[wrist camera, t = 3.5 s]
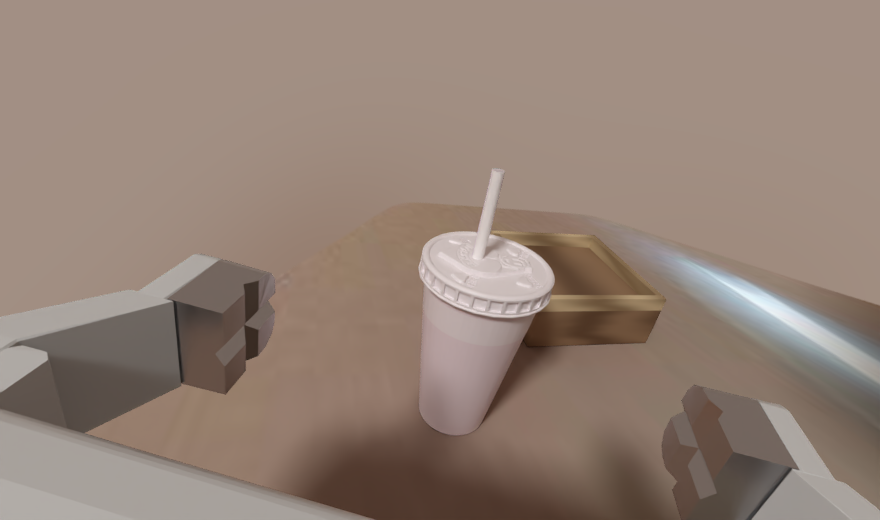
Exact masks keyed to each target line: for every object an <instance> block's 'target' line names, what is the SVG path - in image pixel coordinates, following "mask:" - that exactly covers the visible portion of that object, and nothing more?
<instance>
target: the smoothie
mask: <svg viewBox="0 0 880 520" xmlns="http://www.w3.org/2000/svg"><path fill="white" fill-rule="evenodd" d="M504 174H505V171H504V170H502V169H498V168H493V169H492V173H491V177H490V181H489V185H488V190H487V194H486V198H485V203H484V207H483V211H482V215H481V219H480V224H479V228H478V232H463V231H460V232H450V233H446V234H441V235H439V236H436V237H434V238H432V239H431V240H429V241H428V242H427V243H426V244H425V246H424V248H423V251H422V257H421V261H420V264H419V267H418V269H419V274H420V278H421V280H422V281H423V283H424V294H423V319H422V343H421V367H420V391H419V411H420V414H421V416H422V418H423V419H424V420H425V422H426V423H427V424H428V425H429V426H431V427H432V428H433V429H435V430H437V431H439V432H441V433H444V434H448V435H465V434H469V433H471V432H473V431H475V430H476V429H477V428H478V427H479V426H480V424H481V423H482V421H483V419H484V417H485V415H486V413H487V411H488V409H489V407H490V405H491V402H492V400H493V398H494V396H495V394H496V392H497V390H498V388H499V386H500V384H501V382H502V380H503V378H504V376H505V374H506V372H507V370H508V368H509V366H510V364H511V362H512V360H513V358H514V356H515V354H516V352H517V350H518V348H519V346H520V344H521V342H522V340H523V338H524V336H525V334H526V333H527V331H528V329H529V327H530V325H531V322H532V320H533V318H534V316H535V314H536V313H538V312H540V311H541V310H542V309H544V308H545V307H546V306H547V305H548V304H549V301H550V298H551V291H552V288H553V285H554V281H555V278H554V274H553V271H552V269H551V268H550V266H549V265H548V264H547V262H546V261H545V260H544V259H543V258H542V257H540V256H539V255H538V254H536V253H535V252H534V251H532V250H530V249H529V248H527V247H525V246H523V245H521V244H519V243H517V242H514V241H512V240H509V239H506V238H503V237H499V236H496V235H491V234H490V231H491V227H492V223H493V219H494V215H495V211H496V207H497V202H498V198H499V194H500V190H501V186H502V182H503V178H504Z"/></svg>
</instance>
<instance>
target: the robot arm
mask: <svg viewBox="0 0 880 520" xmlns="http://www.w3.org/2000/svg"><path fill="white" fill-rule="evenodd" d="M274 294H275V278H274V276H273V275H272V273H269V272H266V271H262V270H259V269H255V268H252V267H248V266H244V265H241V264H238V263H234V262H231V261H227V260H223V259H220V258H216V257H212V256H208V255H205V254H194V255H192V256H191V257H189V258H188V259H186V260H185V261H183V262H182V263H180V264H179V265H177V266H176V267H174V268H173V269H171V270H170V271H168V272H167V273H165V274H164V275H162V276H160V277H159V278H158V279H156V280H155V281H153V282H152V283H150V284H149V285H147V286H145V287H144V288H142V289H141V290H139V291H134V290H125V291H120V292H116V293H111V294H106V295H102V296H97V297H93V298H87V299H83V300H78V301H74V302H69V303H64V304H59V305H55V306H50V307H45V308H40V309H36V310H31V311H27V312H22V313H17V314H12V315H8V316H3V317H0V520H375V519H372V518H368V517H365V516H362V515H358V514H355V513H352V512H348V511H345V510H341V509H338V508H335V507H331V506H328V505H325V504H321V503H318V502H314V501H311V500H308V499H304V498H301V497H298V496H294V495H291V494H287V493H284V492H281V491H277V490H274V489H271V488H267V487H264V486H260V485H257V484H254V483H250V482H247V481H244V480H240V479H237V478H233V477H230V476H227V475H223V474H220V473H217V472H213V471H210V470H206V469H203V468H200V467H196V466H193V465H190V464H186V463H183V462H180V461H176V460H173V459H169V458H166V457H163V456H159V455H156V454H153V453H149V452H146V451H142V450H139V449H136V448H132V447H129V446H126V445H122V444H119V443H115V442H112V441H109V440H105V439H102V438H99V437H95V436H92V435H88V434H85V432H87V431H89V430H91V429H94V428H96V427H98V426H100V425H102V424H104V423H106V422H108V421H110V420H112V419H114V418H116V417H118V416H120V415H122V414H124V413H126V412H128V411H131V410H133V409H135V408H137V407H139V406H141V405H143V404H145V403H147V402H149V401H151V400H153V399H155V398H157V397H159V396H161V395H163V394H165V393H168V392H170V391H172V390H174V389H176V388H178V387H180V386H181V383H182V384H185V385H189V386H193V387H197V388H201V389H205V390H209V391H213V392H217V393H221V394H225V395H226V393H227V392H228V391H229V390H230V389H231V388H232V386H233V385H234V384H235V383H236V382H237V380H238V379H239V378H240V377H241V376H242V375H243V373H244V372H245V371H246V360H249V359H252V358H254V357H257V356H258V355H259V354H260V353H261V352H262V350H263V349H264V348H265V347H266V345H267V343H268V340H269V338H270V336H271V334H272V330H273V326H274V318H275V311H274V309H273V308H272V306H271V305H270V303H269V301H268V300H269V299H270V298H271V297H272V296H273V295H274ZM681 401H682V404H683V407H684V412H682V413H680V414H678V415H676V416H674V417H672V418H671V419H670V421H669V423H668V425H667V427H666V429H665V431H664V436H663V441H662V457H663V460H664V464H665V467H666V469H667V470H668V471H669V473H670V474H671V475H672V476H673V477H674V478H675V479H676V480H677V483H676V485H675V486H674V488H673V489H672V491H673V494H674V498H675V501H676V504H677V507H678V511H679V514H680V517H681V520H880V510H879V509H878V508H876V507H875V506H874V505H873V504H871V503H870V502H869V501H867V500H866V499H865V498H864V497H862V496H861V495H860V494H858V493H857V492H856V491H855V490H853V489H852V488H851V487H850V486H848V485H847V484H846V483H843V482H839V481H836V480H835V479H834V477H833V476H832V474H831V473H830V471H829V470H828V468H827V467H826V465H825V464H824V462H823V461H822V459H821V458H820V457H819V455H818V454H817V452H816V451H815V449H814V448H813V446H812V445H811V443H810V442H809V440H808V439H807V437H806V436H805V434H804V433H803V431H802V430H801V428H800V427H799V425H798V424H797V422H796V421H795V419H794V418H793V416H792V415H791V413H790V412H789V410H787V409H786V408H784V407H783V406H781V405H779V404H775V403H770V402H766V401H761V400H757V399H753V398H751V399H750V398H746V397H742V396H738V395H734V394H730V393H726V392H722V391H718V390H714V389H710V388H706V387H702V386H698V385H693V386H692V387H691V388H690V389H688V390H687V392H686V394H685V395H684V397H683V399H682V400H681Z"/></svg>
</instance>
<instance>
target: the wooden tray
mask: <svg viewBox="0 0 880 520" xmlns="http://www.w3.org/2000/svg"><path fill="white" fill-rule="evenodd" d="M491 235H496V236H499V237H503V238H506V239H509V240H512V241H514V242H517V243H519V244H521V245H523V246H525V247H527V248H529V249H530V250H532V251H534V252H535V253H536V254H538V255H539V256H540V257H542V258H543V259H544V260H545V261H546V262H547V264H548V265H549V266H550V268H551V269H552V271H553V274H554V278H555V281H554V285H553V288H552V291H551V298H550V301H549V304H548V305H547V306H546V307H545V308H544V309H542V310H541V311H540V312H538V313H536V314H535V316H534V318H533V320H532V322H531V325H530V327H529V329H528V331H527V333H526V334H525V336H524V338H523V340H524V342H525V344H526V345H527V347H534V346H563V345H592V344H620V343H646V341H647V339H648V337H649V335H650V332H651V330H652V328H653V326H654V324H655V322H656V320H657V318H658V316H659V314H660V312H661V310H662V308H663V306H664V303H665V301H666V298H665V297H663V296H662V295H661V294H660V293H659V292H658V291H657V290H656V289H654V288H653V287H652V286H651V285H650V284H649V283H648V282H647V281H645V280H644V279H643V278H642V277H641V276H640V275H639V274H638V273H636V272H635V271H634V270H633V269H632V268H631V267H630V266H628V265H627V264H626V263H625V262H624V261H623V260H622V259H621V258H619V257H618V256H617V255H616V254H615V253H614V252H613V251H612V250H610V249H609V248H608V247H607V246H606V245H605V244H604V243H603V242H601V241H600V240H599V239H598V238H597V237H596V236H595V235H576V234H554V233H533V232H511V231H491Z"/></svg>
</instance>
